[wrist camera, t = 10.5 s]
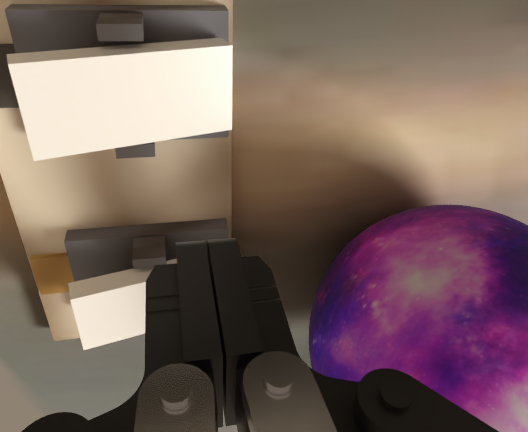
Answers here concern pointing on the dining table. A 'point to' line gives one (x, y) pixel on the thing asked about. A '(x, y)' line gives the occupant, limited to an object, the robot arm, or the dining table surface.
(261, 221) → the dining table surface
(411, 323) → the decorative orb
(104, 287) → the block
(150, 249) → the switch board
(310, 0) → the dining table surface
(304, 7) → the dining table surface
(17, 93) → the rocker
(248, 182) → the dining table surface
